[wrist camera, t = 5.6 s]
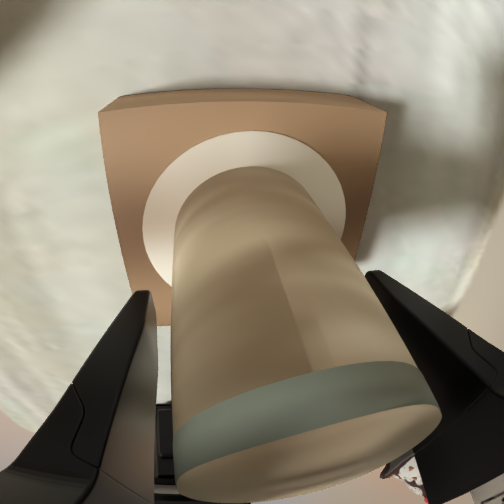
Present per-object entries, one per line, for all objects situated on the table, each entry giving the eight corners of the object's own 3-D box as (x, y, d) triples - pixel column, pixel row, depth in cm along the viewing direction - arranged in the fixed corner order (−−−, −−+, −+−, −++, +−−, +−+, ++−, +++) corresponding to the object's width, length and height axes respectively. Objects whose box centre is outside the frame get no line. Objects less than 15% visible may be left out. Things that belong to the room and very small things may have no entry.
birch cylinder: (327, 165, 10) (492, 373, 4) (307, 283, 13) (383, 471, 7) (167, 169, 9) (142, 452, 3) (181, 294, 12) (194, 508, 6)
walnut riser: (320, 268, 17) (341, 309, 14) (146, 281, 16) (141, 328, 13) (349, 95, 12) (388, 113, 9) (119, 96, 10) (97, 113, 8)
